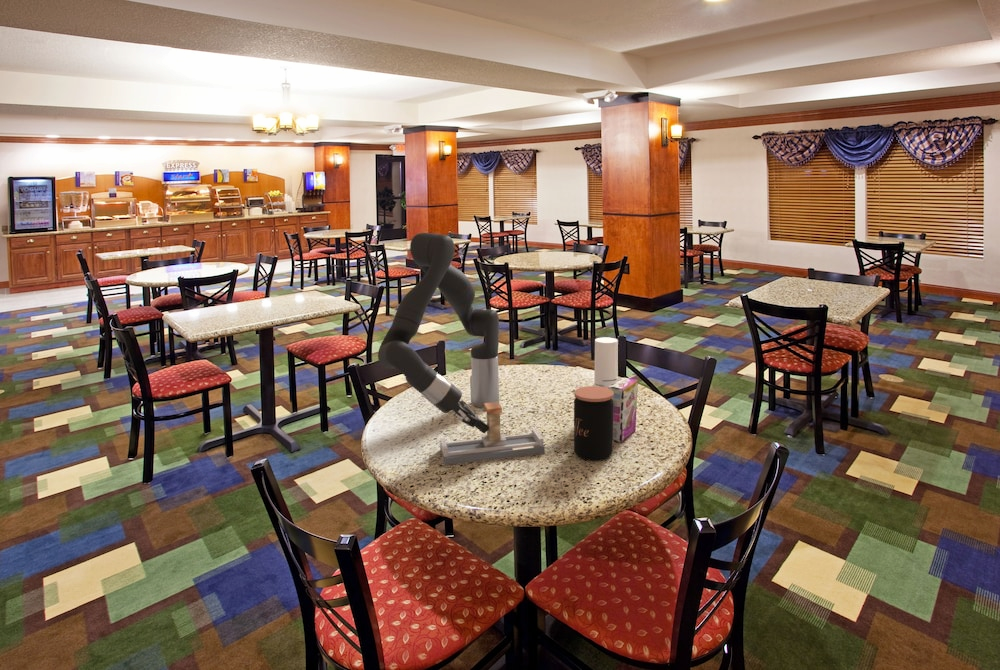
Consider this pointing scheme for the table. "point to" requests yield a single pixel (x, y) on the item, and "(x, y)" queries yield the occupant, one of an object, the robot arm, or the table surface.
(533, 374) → the table surface
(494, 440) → the slider
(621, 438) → the candy bar box
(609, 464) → the table surface
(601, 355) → the cylindrical container
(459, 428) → the table surface
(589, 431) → the coffee jar
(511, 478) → the table surface
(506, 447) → the track
